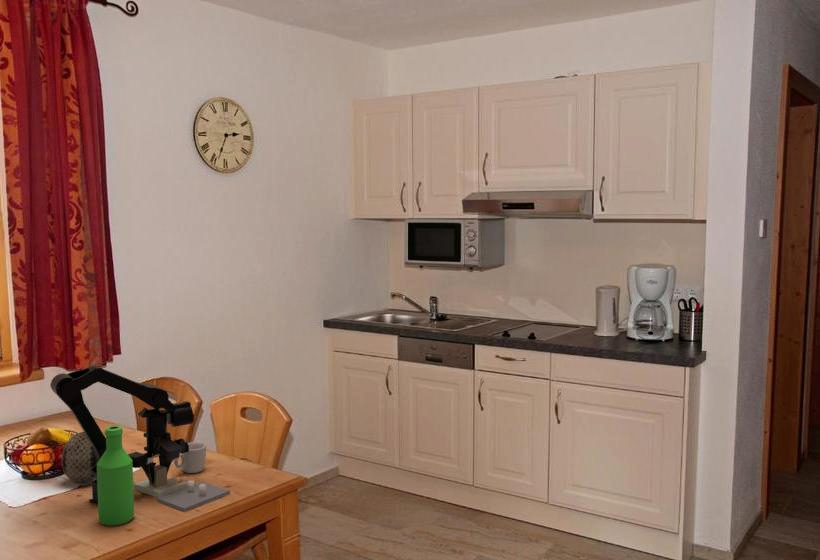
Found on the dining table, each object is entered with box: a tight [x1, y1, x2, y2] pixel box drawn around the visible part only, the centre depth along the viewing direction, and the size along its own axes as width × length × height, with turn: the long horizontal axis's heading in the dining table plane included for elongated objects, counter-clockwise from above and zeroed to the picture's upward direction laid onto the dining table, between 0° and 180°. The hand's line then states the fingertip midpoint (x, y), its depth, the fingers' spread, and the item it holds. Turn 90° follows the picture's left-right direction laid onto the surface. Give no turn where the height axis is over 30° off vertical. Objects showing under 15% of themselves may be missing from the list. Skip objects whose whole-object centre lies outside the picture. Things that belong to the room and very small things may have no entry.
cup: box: [173, 441, 207, 474], centre depth 236 cm, size 11×8×8 cm
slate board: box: [156, 479, 231, 513], centre depth 216 cm, size 16×12×4 cm
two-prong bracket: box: [133, 464, 188, 499], centre depth 222 cm, size 10×12×7 cm
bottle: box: [97, 425, 135, 527], centre depth 199 cm, size 9×9×25 cm
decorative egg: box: [61, 431, 98, 484], centre depth 227 cm, size 12×12×15 cm
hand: (158, 481), depth 222 cm, fingers closed on two-prong bracket, 4 cm apart
